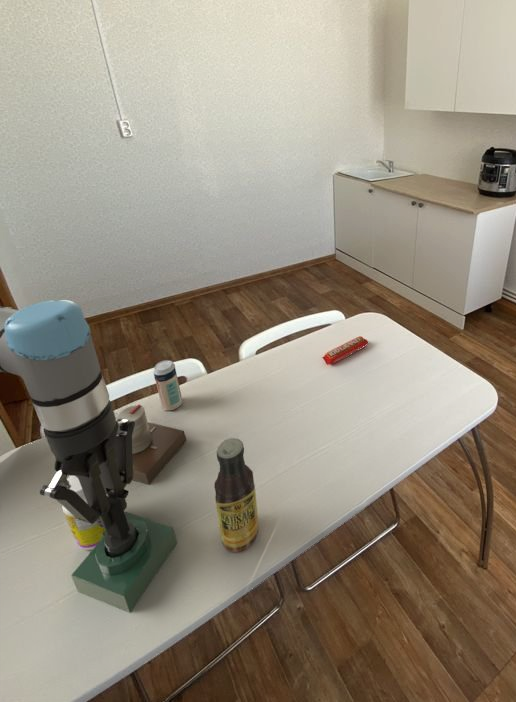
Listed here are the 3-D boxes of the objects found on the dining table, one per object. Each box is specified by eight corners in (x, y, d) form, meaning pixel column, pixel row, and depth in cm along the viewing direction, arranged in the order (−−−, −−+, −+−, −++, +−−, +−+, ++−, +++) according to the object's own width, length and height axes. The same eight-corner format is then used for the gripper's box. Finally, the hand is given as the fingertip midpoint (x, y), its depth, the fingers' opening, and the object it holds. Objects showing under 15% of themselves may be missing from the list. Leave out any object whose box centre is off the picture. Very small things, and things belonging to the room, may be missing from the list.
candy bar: (328, 368, 108) (328, 359, 107) (321, 362, 111) (320, 353, 110) (370, 345, 118) (370, 337, 117) (362, 340, 121) (362, 332, 120)
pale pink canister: (169, 397, 98) (160, 358, 94) (186, 398, 98) (178, 359, 94) (157, 411, 94) (147, 370, 90) (175, 412, 93) (166, 372, 89)
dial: (139, 456, 78) (130, 424, 75) (119, 450, 80) (110, 419, 77) (157, 436, 83) (149, 406, 80) (138, 432, 84) (130, 402, 81)
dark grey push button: (101, 552, 59) (97, 544, 58) (122, 527, 62) (119, 518, 62) (122, 560, 58) (118, 551, 57) (142, 533, 61) (140, 525, 61)
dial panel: (93, 469, 79) (89, 457, 78) (135, 428, 89) (132, 417, 88) (149, 485, 75) (145, 473, 74) (186, 441, 85) (184, 430, 84)
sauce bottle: (223, 562, 62) (205, 473, 56) (220, 526, 68) (203, 440, 61) (264, 544, 65) (251, 457, 58) (258, 511, 70) (245, 427, 63)
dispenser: (77, 592, 59) (66, 566, 57) (130, 527, 68) (122, 503, 66) (130, 613, 56) (120, 587, 54) (177, 542, 65) (171, 518, 63)
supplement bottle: (82, 521, 69) (62, 469, 64) (124, 507, 71) (107, 455, 67) (72, 559, 63) (49, 505, 59) (118, 542, 66) (100, 488, 61)
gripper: (98, 376, 58) (133, 488, 66) (3, 445, 46) (59, 571, 54) (138, 384, 56) (169, 499, 64) (49, 459, 44) (101, 587, 52)
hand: (119, 532), depth 59 cm, fingers closed
